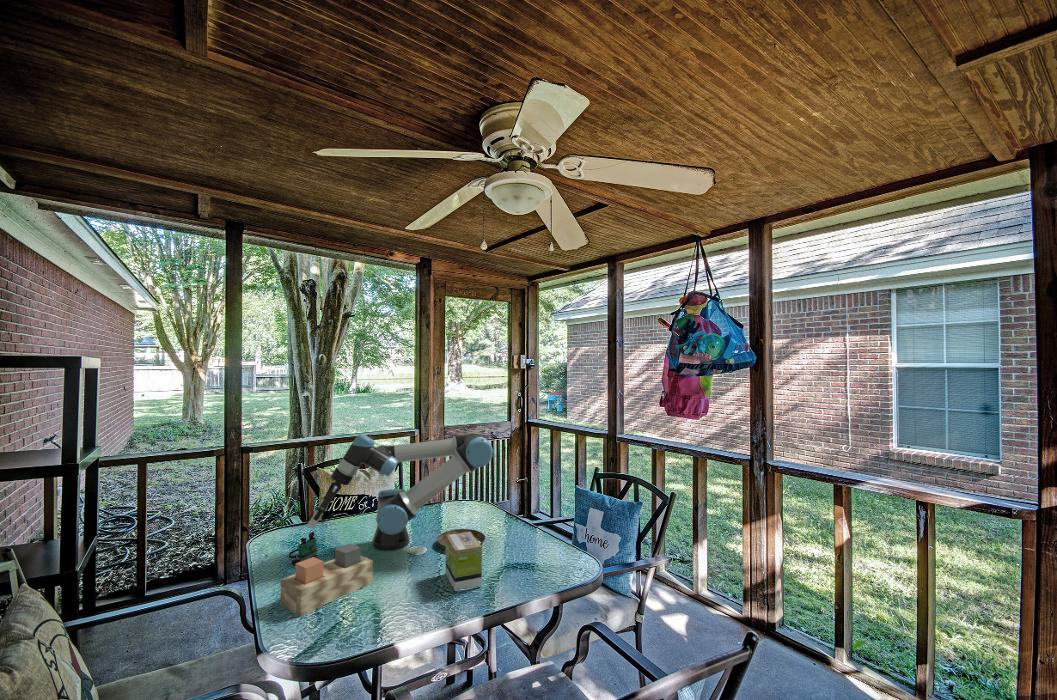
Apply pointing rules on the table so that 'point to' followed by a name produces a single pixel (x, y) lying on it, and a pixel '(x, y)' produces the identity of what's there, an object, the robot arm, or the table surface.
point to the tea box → (463, 561)
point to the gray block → (347, 555)
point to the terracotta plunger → (309, 570)
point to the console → (325, 586)
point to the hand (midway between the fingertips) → (313, 521)
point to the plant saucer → (476, 534)
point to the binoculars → (305, 549)
